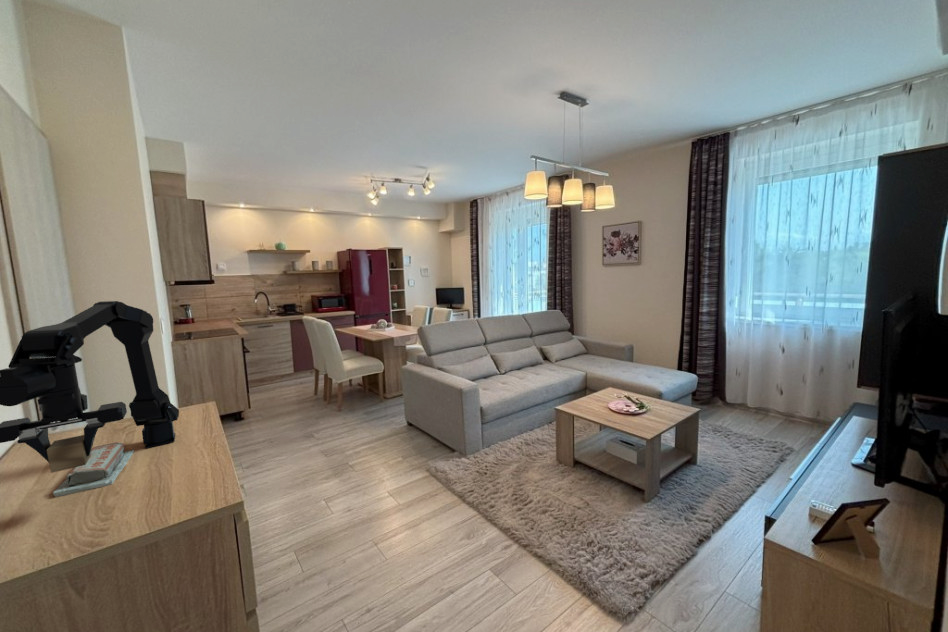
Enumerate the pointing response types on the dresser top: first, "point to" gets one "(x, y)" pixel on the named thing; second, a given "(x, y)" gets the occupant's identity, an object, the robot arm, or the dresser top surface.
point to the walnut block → (67, 453)
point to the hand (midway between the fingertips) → (71, 459)
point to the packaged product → (96, 469)
